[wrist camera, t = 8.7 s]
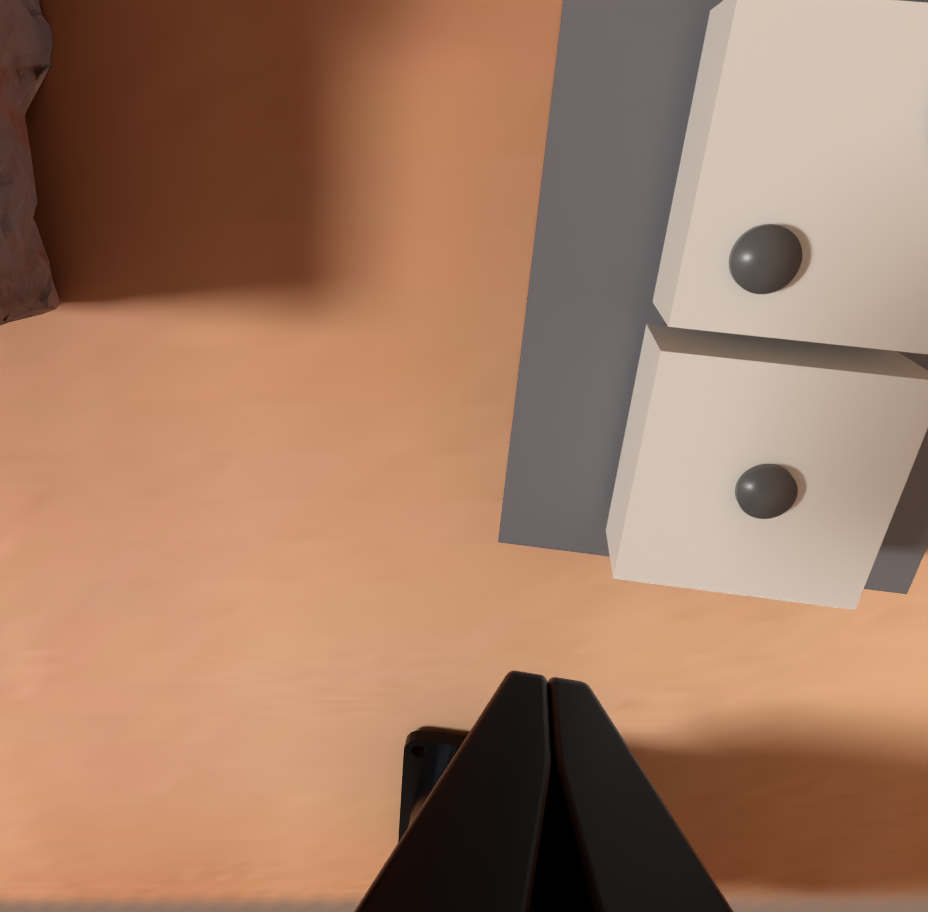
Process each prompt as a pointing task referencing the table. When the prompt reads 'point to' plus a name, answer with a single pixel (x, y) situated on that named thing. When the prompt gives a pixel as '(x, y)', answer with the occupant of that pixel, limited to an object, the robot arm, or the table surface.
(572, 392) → the keypad board
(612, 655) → the table surface
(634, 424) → the key one
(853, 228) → the key two
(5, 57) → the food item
